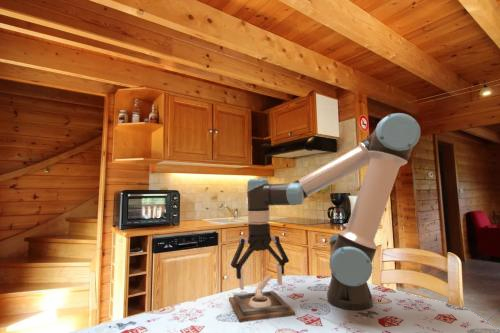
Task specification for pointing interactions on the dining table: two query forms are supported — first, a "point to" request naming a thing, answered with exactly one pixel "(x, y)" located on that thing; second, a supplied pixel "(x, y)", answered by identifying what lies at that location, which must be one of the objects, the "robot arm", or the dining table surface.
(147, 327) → the dining table surface
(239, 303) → the picture frame
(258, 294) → the hook
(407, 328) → the dining table surface
